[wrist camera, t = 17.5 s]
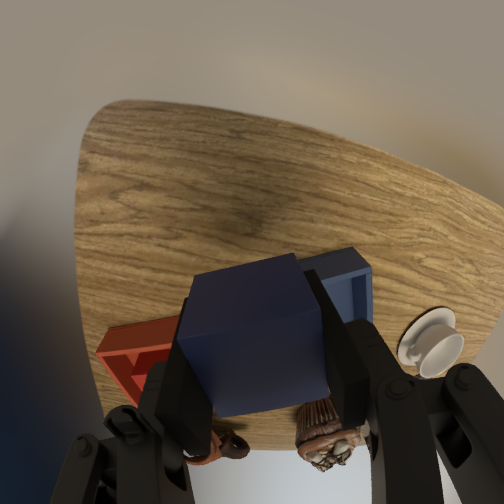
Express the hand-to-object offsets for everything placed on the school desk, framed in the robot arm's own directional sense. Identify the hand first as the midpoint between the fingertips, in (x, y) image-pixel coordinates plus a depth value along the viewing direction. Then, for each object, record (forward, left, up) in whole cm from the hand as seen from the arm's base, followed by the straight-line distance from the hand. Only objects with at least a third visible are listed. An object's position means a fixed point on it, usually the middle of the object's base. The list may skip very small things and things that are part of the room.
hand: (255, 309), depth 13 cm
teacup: (+21, +20, -13) cm, 32 cm away
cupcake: (+30, +4, -13) cm, 33 cm away
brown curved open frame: (+28, -13, -13) cm, 33 cm away
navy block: (0, 0, 0) cm, 0 cm away
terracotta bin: (+13, -13, -13) cm, 22 cm away
